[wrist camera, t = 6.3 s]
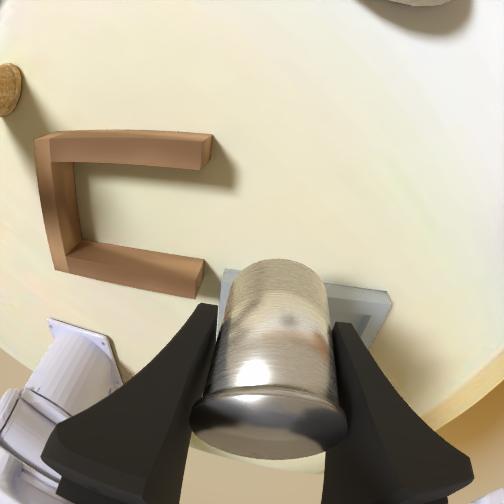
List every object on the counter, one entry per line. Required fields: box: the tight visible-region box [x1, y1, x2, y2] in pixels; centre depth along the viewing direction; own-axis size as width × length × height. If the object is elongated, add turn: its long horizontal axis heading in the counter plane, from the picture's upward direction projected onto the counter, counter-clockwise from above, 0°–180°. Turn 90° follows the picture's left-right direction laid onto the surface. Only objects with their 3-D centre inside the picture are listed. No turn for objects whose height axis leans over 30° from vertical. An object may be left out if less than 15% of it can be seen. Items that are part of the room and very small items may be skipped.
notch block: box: [34, 130, 212, 299], centre depth 18 cm, size 10×12×2 cm
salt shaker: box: [189, 259, 348, 460], centre depth 10 cm, size 4×4×6 cm
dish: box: [217, 269, 392, 349], centre depth 23 cm, size 12×12×2 cm
